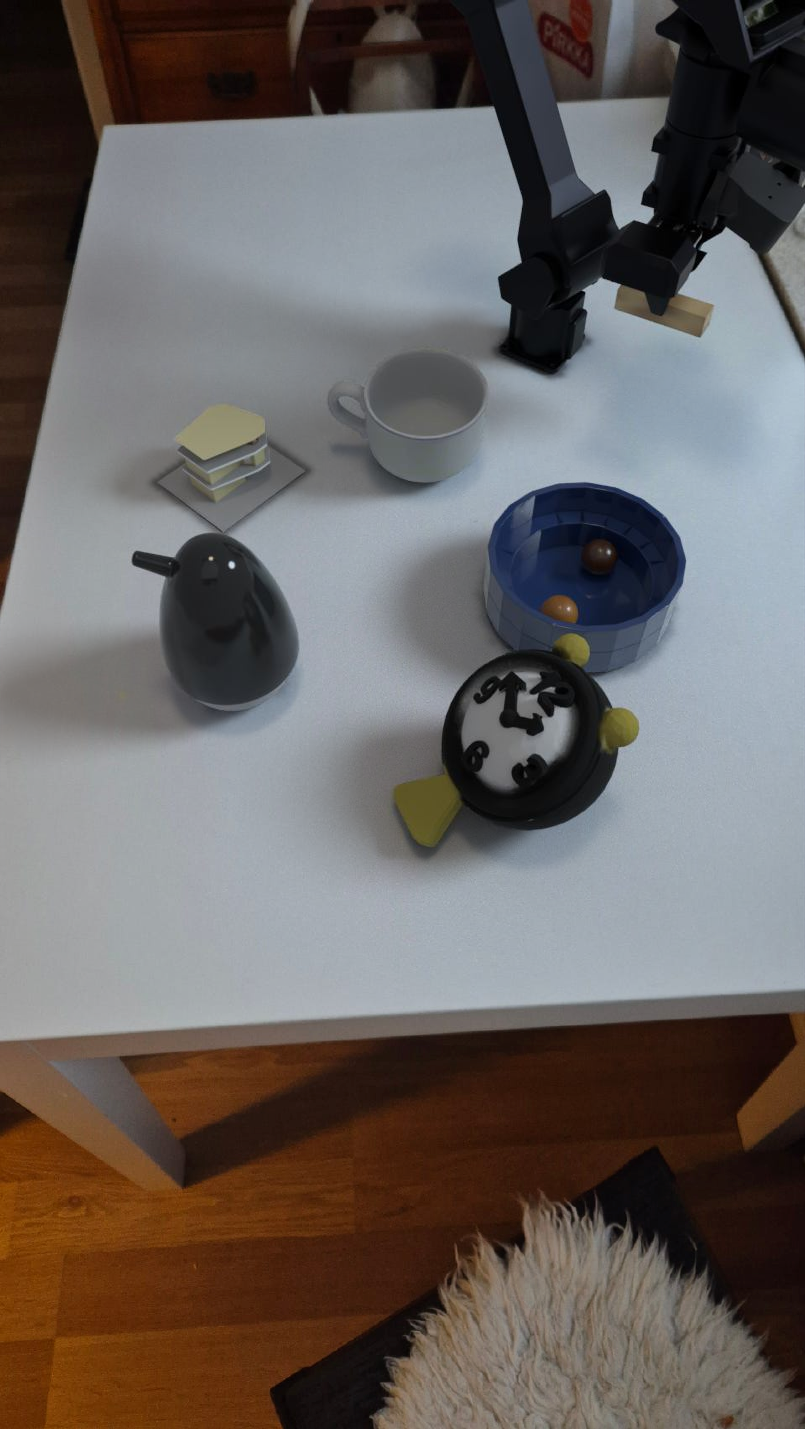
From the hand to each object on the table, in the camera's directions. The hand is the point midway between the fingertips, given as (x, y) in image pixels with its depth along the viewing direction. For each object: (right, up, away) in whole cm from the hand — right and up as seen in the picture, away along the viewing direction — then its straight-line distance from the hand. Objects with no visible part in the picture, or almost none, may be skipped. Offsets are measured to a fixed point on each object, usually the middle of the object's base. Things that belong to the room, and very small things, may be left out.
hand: (662, 307), depth 86 cm
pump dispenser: (-35, -32, -6) cm, 48 cm away
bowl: (-8, -26, -3) cm, 27 cm away
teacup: (-22, -11, +7) cm, 25 cm away
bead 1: (-10, -27, -6) cm, 29 cm away
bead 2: (-6, -22, -3) cm, 23 cm away
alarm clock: (-14, -40, -12) cm, 44 cm away
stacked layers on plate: (-38, -14, +5) cm, 40 cm away
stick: (0, -1, +1) cm, 1 cm away
